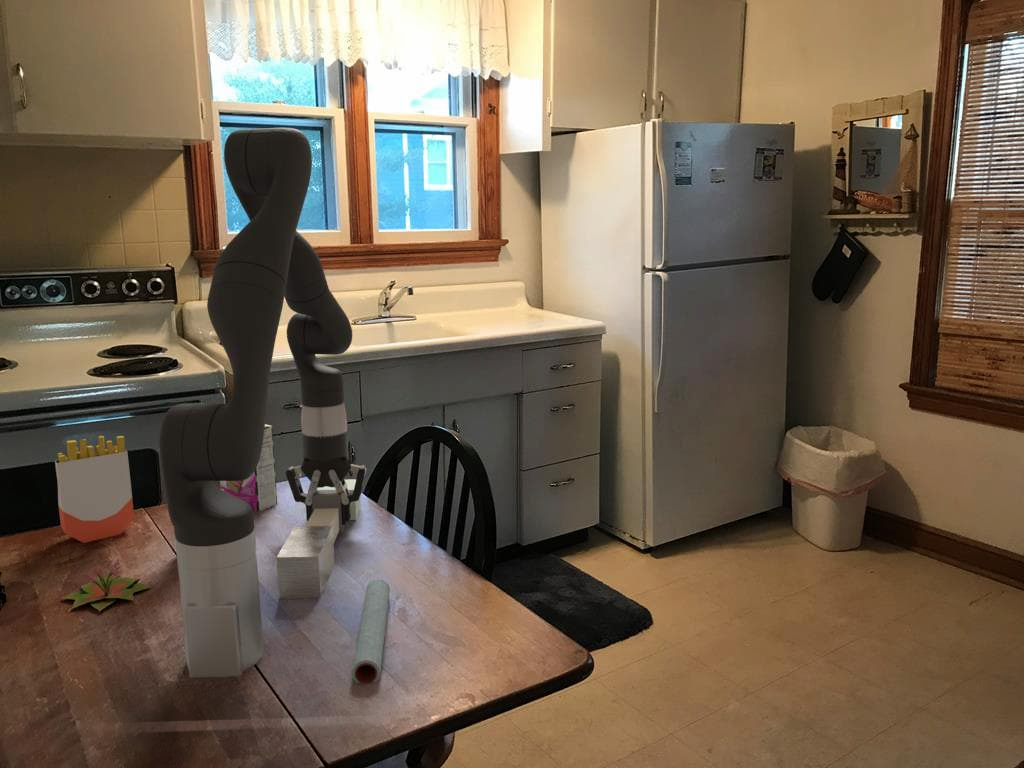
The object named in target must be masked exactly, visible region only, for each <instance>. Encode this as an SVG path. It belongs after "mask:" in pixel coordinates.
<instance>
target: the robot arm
mask: <svg viewBox="0 0 1024 768" xmlns="http://www.w3.org/2000/svg"><path fill="white" fill-rule="evenodd" d="M312 155H313V154H312V148H311V143H310V142H309V139H308V137H307V136H306V134H305V133H304V132H302V131H301V130H299V129H297V128H292V127H269V128H268V127H264V128H248V129H247V128H245V129H238V130H235V131H233V132H230V134H228V136H227V138H226V140H225V144H224V147H223V161H224V166H225V170H226V174H227V177H228V180H229V182H230V185H231V187H232V189H233V191H234V194H235V195H236V197H237V199H238V201H239V203H240V205H241V207H242V208H243V210H244V212H245V214H246V215H247V218H248V219H249V222H248V223H247V224H246V225H245V226H244V227H243V228H242V229H240V231H239V232H238V233H237V234H236V235H235V236H234V237H232V239H231V241H230V242H229V243H228V244H227V245H226V246H225V248H224V249H223V250H222V251H221V253H220V254H219V256H218V258H217V260H216V262H215V265H214V269H213V274H212V279H211V282H210V283H211V284H210V287H209V292H208V297H207V302H206V304H207V305H206V308H207V313H208V317H209V320H210V323H211V325H212V327H213V329H214V332H215V334H216V336H217V338H218V340H219V342H220V343H221V345H222V348H223V349H224V351H225V354H226V356H227V358H228V361H229V363H230V367H231V370H232V390H231V396H230V400H229V402H228V403H194V402H193V403H190V402H188V403H179V404H175V405H173V406H172V407H170V408H169V409H168V410H167V412H166V413H165V415H164V417H163V419H162V422H161V425H160V430H159V441H158V443H159V455H160V456H159V457H160V464H161V470H162V477H163V482H164V490H165V496H166V503H167V510H168V511H167V512H168V516H169V519H170V521H171V524H172V526H173V530H174V542H175V541H176V547H175V550H176V559H177V560H176V561H177V563H176V564H177V573H178V583H179V584H178V585H179V592H180V593H179V595H180V607H181V614H182V615H181V617H182V625H183V626H182V627H183V636H184V647H185V656H186V657H185V658H186V666H187V669H188V677H189V678H219V677H220V678H222V677H223V678H224V677H227V678H228V677H229V678H230V677H240V676H242V674H243V673H244V672H245V671H247V670H248V669H250V668H251V667H254V666H255V665H256V664H257V663H258V662H259V661H260V660H261V659H262V658H263V655H264V651H265V649H264V638H263V625H262V624H263V623H262V614H261V611H262V610H261V600H260V599H261V597H260V596H261V595H260V585H259V584H260V583H259V571H258V558H257V557H258V556H257V542H256V529H255V527H256V525H255V514H254V510H253V509H252V507H251V506H250V505H249V504H248V503H247V502H245V501H243V500H241V499H239V498H236V497H234V496H232V495H230V494H227V493H226V492H224V491H222V490H221V489H220V488H219V487H218V486H217V485H216V484H215V483H214V482H219V481H242V480H246V479H248V478H249V477H250V476H252V474H253V473H254V471H255V469H256V468H257V465H258V462H259V459H260V455H261V451H262V445H263V437H264V428H265V424H266V418H267V408H268V407H267V406H268V396H269V385H270V376H271V370H272V369H271V368H272V361H273V356H274V351H275V344H276V339H277V334H278V330H279V329H278V328H279V325H280V320H281V316H282V313H283V312H282V311H283V306H284V303H285V302H286V304H287V306H288V308H289V309H290V310H291V311H293V312H295V314H293V315H292V316H291V317H290V319H289V320H288V323H287V327H286V339H287V343H288V346H289V349H290V352H291V355H292V358H293V361H294V364H295V367H296V370H297V374H298V377H299V381H300V391H301V393H300V394H301V415H300V416H301V417H300V421H301V437H302V452H303V453H302V455H303V460H302V463H301V464H299V465H298V466H294V465H290V466H289V467H288V468H287V470H285V477H286V479H287V482H288V485H289V488H290V490H291V494H292V497H293V499H294V501H295V503H303V504H304V505H305V513H306V514H305V515H306V521H307V522H308V520H309V519H310V517H311V515H312V513H313V509H312V496H314V495H315V493H316V492H317V489H318V488H322V487H326V486H327V487H335V489H336V491H337V493H338V494H339V495H341V501H342V505H341V513H342V525H345V526H346V525H347V524H348V522H350V521H349V520H350V518H351V502H353V501H358V500H359V498H360V499H361V495H362V490H363V487H364V482H365V478H366V474H367V465H366V464H361V465H357V464H353V463H352V461H351V459H350V457H349V447H348V445H349V442H348V421H347V419H348V418H347V411H346V406H345V391H344V390H345V389H344V377H343V373H342V372H341V370H339V369H338V368H336V367H331V366H327V365H324V364H323V363H321V362H320V361H319V359H318V357H317V356H316V355H324V356H325V355H326V356H327V355H328V356H329V355H330V356H333V355H335V356H336V355H342V354H344V353H345V352H346V351H348V349H349V348H350V346H351V344H352V342H353V327H352V324H351V321H350V319H349V318H348V316H347V314H346V312H345V311H344V310H343V308H342V307H341V306H342V305H340V304H339V302H338V301H337V299H336V297H335V296H334V295H333V293H332V292H331V290H330V288H329V285H328V281H327V278H326V275H325V271H324V267H323V265H322V262H321V259H320V257H319V255H318V253H317V252H316V250H315V249H314V248H313V246H312V245H311V244H310V242H308V240H307V239H305V236H302V234H301V233H299V232H298V230H297V228H298V224H299V221H300V218H301V214H302V211H303V207H304V203H305V200H306V197H307V193H308V190H309V186H310V182H311V178H312V177H311V176H312V165H313V156H312ZM284 301H285V302H284ZM349 472H351V473H352V477H353V479H356V483H355V487H354V492H352V493H349V490H348V488H347V484H346V481H345V480H346V479H345V478H346V477H347V475H348V474H349ZM302 473H303V474H304V476H305V477H306V478H307V479H308V480H309V482H310V484H309V487H308V490H307V493H305V492H304V489H303V487H302V486H303V485H302V483H301V480H300V478H301V476H302Z"/></svg>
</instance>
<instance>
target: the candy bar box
mask: <svg viewBox="0 0 1024 768" xmlns="http://www.w3.org/2000/svg"><path fill="white" fill-rule="evenodd" d="M273 431H274V430H273V425H270V424H266V423H265V428H264V437H263V445H262V451H261V455H260V459H259V462H258V465H257V468H256V469H255V471H254V473H253V474H252V476H250V477H249V478H248V479H246V480H242V481H218V484H219V485H218V486H219V487H218V488H220V489H221V490H222V491H224V492H226V493H227V494H230V495H232V496H234V497H236V498H239V499H241V500H243V501H245V502H247V503H248V504H249V505H250V506H251V507H252V509H253V512H254V511H255V512H262V511H264V510H267V509H269V508H271V506H272V507H274V506H276V504H277V505H278V493H277V490H278V489H277V480H276V478H277V477H276V463H275V461H276V460H275V449H274V448H275V447H274V435H273ZM266 508H267V509H266Z"/></svg>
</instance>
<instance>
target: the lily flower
mask: <svg viewBox="0 0 1024 768" xmlns="http://www.w3.org/2000/svg"><path fill="white" fill-rule="evenodd" d="M118 564H119V563H118V562H117V563H115V564H114V566H113V568H112V569H111V571H110V572H109V574H108V571H106V575H107V577H104V576H105V575H104V573H103V572H102V571H101V569H100V567H99V566H97V569H98V570H99V572H100V573H99V572H98V571H97V570H95V569H92V572H93V573H94V574H95V576H97V578H98V579H96V580H94V579H93V578H92V577H88V580H90V582H88V583H87V584H82V585H81V590H76V591H73V592H71V593H69V594H66V595H65V596H62V597H61V599H67V600H75V601H74V602H73V606H71V608H70V610H72V609H74V608H75V609H76V608H77V607H79V606H83V605H85V604H88V603H89V604H90V606H92V608H94V609H96V610H98V612H101V611H102V610H103V609H105V608H106V607H108V606H110V605H111V604H113V603H114V602H116V601H117V600H118V599H123V600H128V601H133V602H134V601H135V599H134V593H136V592H139V591H144V590H146V589H149V588H152V586H151V585H146V584H143V583H135V582H136V581H138V580H139V579H141V577H138V578H137V577H125V576H124V577H120V575H117V574H118V573H117V572H116V571H117V570H120V569H121V568H122V566H118V567H117V565H118ZM105 565H106V566H105V568H107V565H108V563H106V564H105ZM115 567H117V568H115ZM114 569H115V570H114ZM116 575H117V576H116ZM111 592H112V595H109V594H110V593H111ZM103 594H104V596H103ZM106 595H108V596H106ZM104 599H107V600H104Z"/></svg>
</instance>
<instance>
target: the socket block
mask: <svg viewBox="0 0 1024 768" xmlns="http://www.w3.org/2000/svg"><path fill="white" fill-rule="evenodd" d="M345 481H346V484H347V488H348V490H349V493H352V492H354V487H355V483H356V478H353V479H351V478H350V479H345ZM317 490H336V489H335V487H327V486H326V487H322V488H318V489H317ZM361 507H362V505H361V497H360V498H359V500H358V501H353V502H351V518H350V520H356V519H357V520H358V517H359V515H358V514H360V512H361V509H362V508H361ZM360 508H361V509H360ZM359 511H360V512H359ZM357 516H358V517H357ZM357 520H356V521H357Z"/></svg>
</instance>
